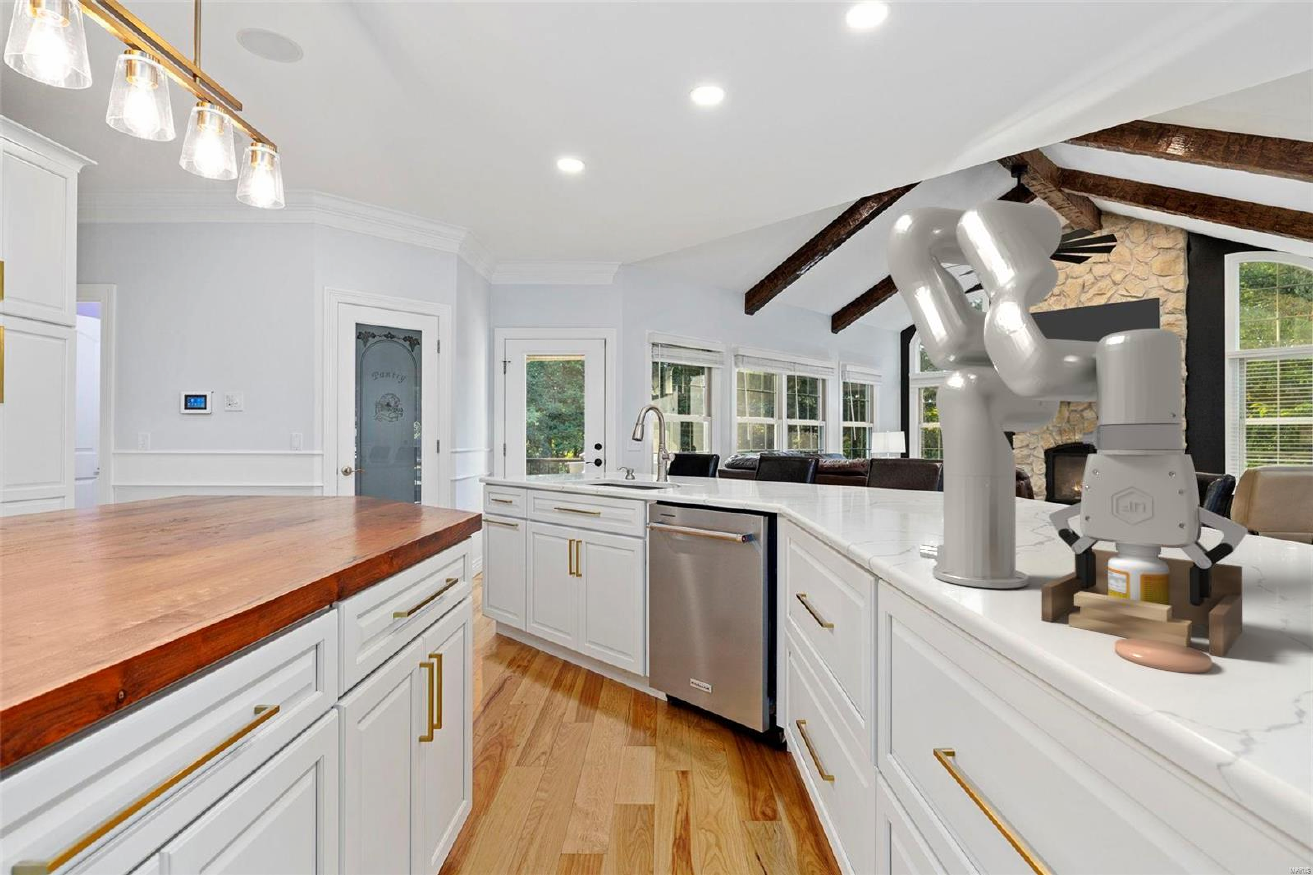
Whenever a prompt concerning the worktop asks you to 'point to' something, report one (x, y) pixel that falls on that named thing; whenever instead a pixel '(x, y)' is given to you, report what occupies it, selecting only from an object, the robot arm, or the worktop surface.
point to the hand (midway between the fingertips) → (1140, 594)
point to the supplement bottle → (1138, 574)
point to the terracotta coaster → (1163, 655)
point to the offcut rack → (1151, 606)
